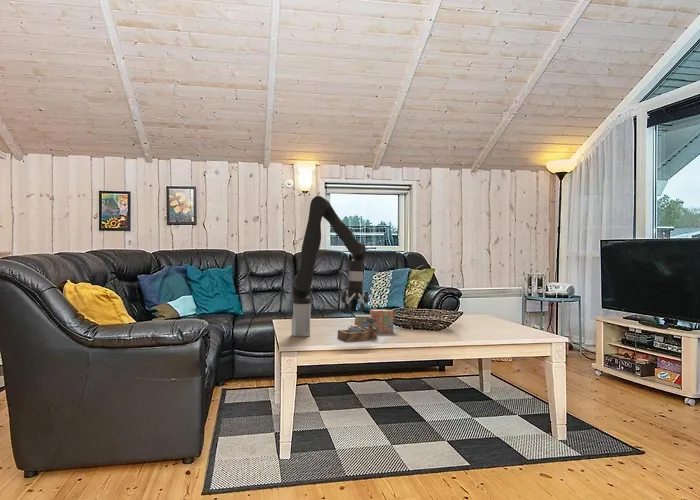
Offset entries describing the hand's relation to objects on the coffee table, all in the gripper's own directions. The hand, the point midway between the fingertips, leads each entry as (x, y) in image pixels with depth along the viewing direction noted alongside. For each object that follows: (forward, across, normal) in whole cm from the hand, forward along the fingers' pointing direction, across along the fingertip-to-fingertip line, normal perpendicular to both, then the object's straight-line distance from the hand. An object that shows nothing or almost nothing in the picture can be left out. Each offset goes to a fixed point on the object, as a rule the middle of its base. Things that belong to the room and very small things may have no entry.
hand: (354, 311), depth 260 cm
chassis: (+14, +4, 0) cm, 15 cm away
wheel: (+6, +11, +1) cm, 12 cm away
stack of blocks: (+14, +22, +17) cm, 31 cm away
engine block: (+14, +1, 0) cm, 15 cm away
